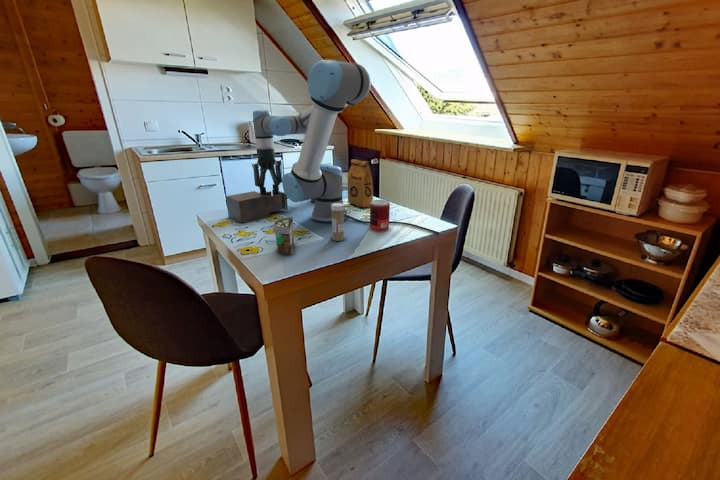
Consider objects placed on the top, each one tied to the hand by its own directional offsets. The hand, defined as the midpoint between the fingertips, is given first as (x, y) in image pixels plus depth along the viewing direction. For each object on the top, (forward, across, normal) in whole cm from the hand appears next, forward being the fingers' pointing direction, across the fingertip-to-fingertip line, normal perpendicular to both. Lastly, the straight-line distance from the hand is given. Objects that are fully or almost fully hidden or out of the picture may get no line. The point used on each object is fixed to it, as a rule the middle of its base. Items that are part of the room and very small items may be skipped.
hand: (270, 199), depth 159 cm
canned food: (+6, -18, +51) cm, 54 cm away
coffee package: (+6, -38, +21) cm, 44 cm away
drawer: (+5, -2, 0) cm, 5 cm away
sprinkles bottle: (+6, +2, +48) cm, 48 cm away
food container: (+6, +22, +42) cm, 48 cm away
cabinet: (+6, +12, 0) cm, 13 cm away
